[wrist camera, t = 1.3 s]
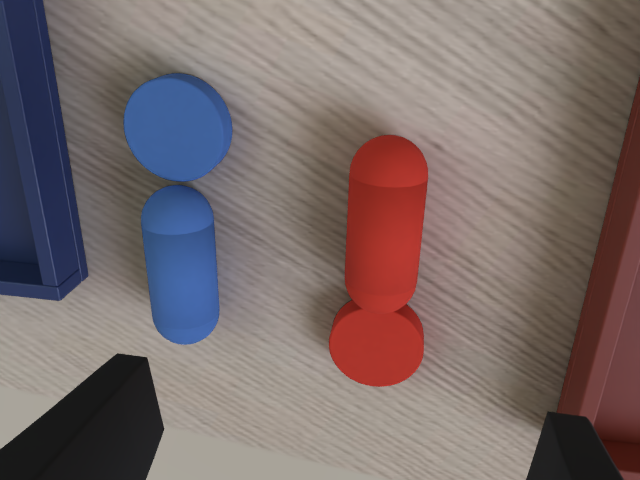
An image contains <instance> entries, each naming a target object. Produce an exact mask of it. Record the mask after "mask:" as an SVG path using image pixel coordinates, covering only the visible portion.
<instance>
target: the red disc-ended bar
mask: <svg viewBox="0 0 640 480" xmlns="http://www.w3.org/2000/svg"><path fill="white" fill-rule="evenodd" d="M427 181H428V168H427V163H426V160H425V158H424V156H423V154H422V152H421V151H420V149H419V148H418V147H417V146H416V145H415V144H413V143H412V142H411V141H409V140H407V139H405V138H403V137H400V136H395V135H384V136H378V137H376V138H373V139H371V140H369V141H368V142H366V143H365V144H363V145H362V147H361V148H360V149H359V150H358V151H357V153H356V154H355V156H354V157H353V160H352V163H351V166H350V173H349V194H348V216H347V238H346V260H345V285H346V288H347V291H348V293H349V295H350V297H351V298H352V300H351V301H350V302H348V303H346V304H345V305H344V306H343V307H342V308H341V309H340V310H339V312H338V313H337V315H336V317H335V319H334V322H333V326H332V330H331V334H330V338H329V349H330V354H331V357H332V359H333V361H334V363H335V364H336V366H337V367H338V368H339V369H340V370H341V372H343V373H344V374H345V375H346V376H348V377H349V378H350V379H352V380H354V381H356V382H359V383H361V384H365V385H369V386H378V387H380V386H390V385H394V384H397V383H400V382H402V381H404V380H406V379H407V378H409V377H410V376H411V375H412V374H413V373H414V372H415V371H416V370H417V368H418V367H419V365H420V363H421V361H422V358H423V352H424V334H423V327H422V324H421V322H420V319H419V318H418V316H417V315H416V313H415V312H414V311H413V310H412V309H411V308H410V307H409V306H408V305H406V304H407V302H408V301H409V300H410V299H411V297H412V296H413V293H414V291H415V288H416V284H417V276H418V267H419V257H420V248H421V238H422V229H423V219H424V210H425V200H426V191H427Z"/></svg>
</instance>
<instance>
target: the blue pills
mask: <svg viewBox="0 0 640 480" xmlns="http://www.w3.org/2000/svg"><path fill="white" fill-rule="evenodd" d="M124 132H125V136H126V140H127V143H128V145H129V147H130V149H131V151H132V153H133V154H134V156H135V157H136V158H137V160H138V161H139V162H140V163H141V164H142V165H143V166H144V167H145V168H146V169H148V170H149V171H150V172H152V173H153V174H155V175H157V176H159V177H162V178H164V179H167V180H171V181H183V182H184V181H191V180H195V179H198V178H200V177H202V176H204V175H205V174H207V173H208V172H209V171H211V170H212V169H213V168H214V167H215V166H216V165H217V164H218V163H220V161H221V160H222V159H223V158H224V156H225V155H226V153H227V151H228V149H229V147H230V143H231V139H232V122H231V118H230V114H229V111H228V108H227V106H226V105H225V103H224V101H223V99H222V98H221V96H220V95H219V94H218V93H217V92H216V91H215V90H214V89H213V88H212V87H211V86H210V85H209V84H207V83H206V82H204V81H203V80H201V79H199V78H197V77H194V76H191V75H187V74H181V73H172V74H166V75H163V76H160V77H158V78H155V79H152V80H149V81H148V82H146V83H144V84H142V85H141V86H140V87H138V88H137V89H136V90H135V91H134V93H133V94H132V95H131V97H130V99H129V101H128V103H127V105H126V108H125V113H124ZM141 226H142V234H143V243H144V251H145V260H146V268H147V276H148V285H149V293H150V302H151V310H152V317H153V322H154V324H155V326H156V328H157V330H158V332H159V333H160V334H161V335H162V336H163V337H164V338H166V339H167V340H169V341H171V342H174V343H177V344H193V343H196V342H199V341H201V340H202V339H204V338H206V337H207V336H208V335H209V334H210V333H211V332H212V331H213V329H214V328H215V326H216V324H217V321H218V318H219V295H218V279H217V263H216V247H215V230H214V217H213V211H212V209H211V206H210V204H209V202H208V201H207V200H206V198H205V197H204V196H203V195H202V194H201V193H200V192H198V191H196V190H195V189H193V188H190V187H187V186H183V185H172V186H167V187H164V188H162V189H160V190H158V191H156V192H155V193H154V194H153V195H151V196H150V198H149V199H148V200H147V202H146V203H145V206H144V208H143V210H142V215H141Z"/></svg>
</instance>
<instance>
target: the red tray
mask: <svg viewBox="0 0 640 480" xmlns="http://www.w3.org/2000/svg"><path fill="white" fill-rule="evenodd" d="M557 413H563V414H570V415H577V416H585V417H587V418H588V419H589V421H590V422H591V423H592V425H593V427H594V428H595V430H596V432H597V434H598V436H599V437H600V439H601V441H602V443H603V444H604V446H605V448H606V450H607V451H608V453H609V455H610V457H611V458H612V460H613V462H614V464H615V465H616V467H617V469H618V470H619V472H620V474H621V475H622V477H623V479H624V480H640V77H639V81H638V86H637V90H636V94H635V98H634V102H633V106H632V110H631V114H630V118H629V122H628V126H627V130H626V134H625V138H624V142H623V146H622V150H621V154H620V158H619V162H618V166H617V170H616V174H615V178H614V182H613V187H612V191H611V195H610V199H609V203H608V207H607V211H606V215H605V219H604V223H603V227H602V231H601V235H600V239H599V243H598V247H597V251H596V255H595V259H594V263H593V267H592V271H591V275H590V279H589V283H588V288H587V292H586V296H585V300H584V304H583V308H582V312H581V316H580V320H579V324H578V328H577V332H576V336H575V340H574V344H573V348H572V352H571V356H570V360H569V364H568V368H567V372H566V376H565V380H564V384H563V389H562V393H561V397H560V401H559V405H558V409H557Z"/></svg>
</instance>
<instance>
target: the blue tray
mask: <svg viewBox="0 0 640 480" xmlns="http://www.w3.org/2000/svg"><path fill="white" fill-rule="evenodd" d="M87 277H88V270H87V264H86V258H85V252H84V246H83V240H82V234H81V228H80V222H79V216H78V210H77V204H76V197H75V191H74V185H73V179H72V173H71V167H70V161H69V155H68V149H67V143H66V137H65V131H64V125H63V119H62V113H61V107H60V101H59V95H58V89H57V83H56V77H55V71H54V65H53V59H52V53H51V47H50V41H49V35H48V29H47V23H46V17H45V11H44V5H43V0H0V294H1V295H10V296H19V297H28V298H38V299H47V300H56V301H60V300H62V299H63V298H64V297H65V296H66V295H67V294H68V293H70V292H71V291H72V290H73V289H74V288H75V287H76V286H77V285H79V284H80V283H81V281H83V280H84V279H86V278H87Z"/></svg>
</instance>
